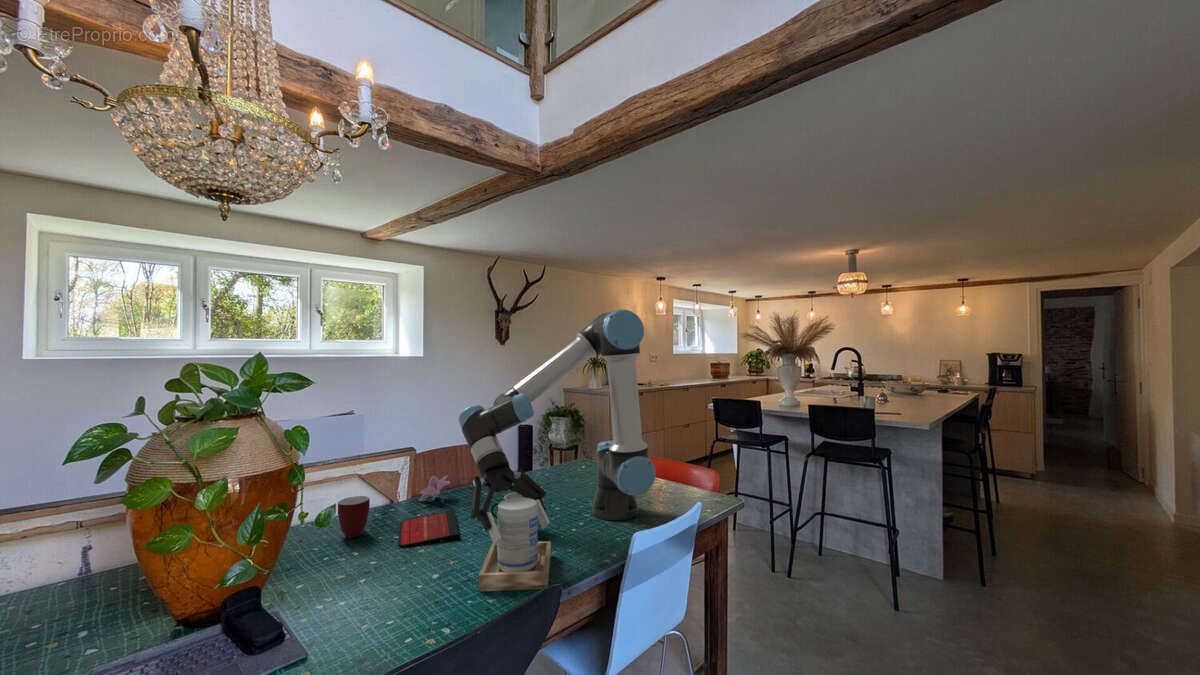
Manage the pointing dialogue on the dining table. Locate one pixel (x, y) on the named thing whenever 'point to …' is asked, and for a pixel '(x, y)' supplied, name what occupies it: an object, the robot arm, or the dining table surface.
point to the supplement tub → (517, 534)
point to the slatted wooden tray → (504, 581)
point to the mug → (353, 515)
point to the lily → (434, 487)
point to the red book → (428, 529)
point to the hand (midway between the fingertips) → (523, 533)
